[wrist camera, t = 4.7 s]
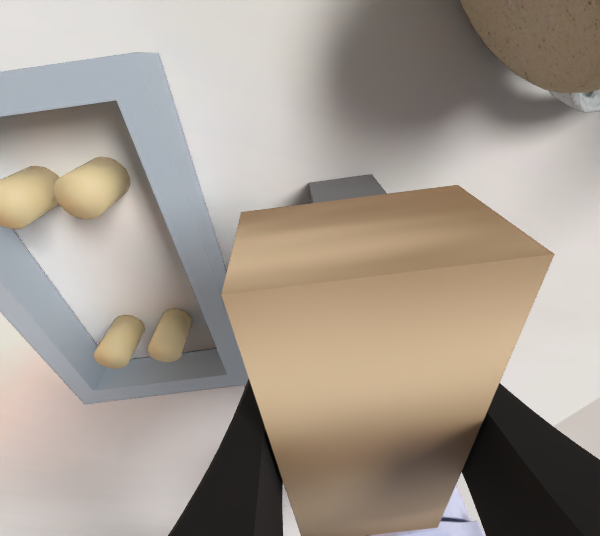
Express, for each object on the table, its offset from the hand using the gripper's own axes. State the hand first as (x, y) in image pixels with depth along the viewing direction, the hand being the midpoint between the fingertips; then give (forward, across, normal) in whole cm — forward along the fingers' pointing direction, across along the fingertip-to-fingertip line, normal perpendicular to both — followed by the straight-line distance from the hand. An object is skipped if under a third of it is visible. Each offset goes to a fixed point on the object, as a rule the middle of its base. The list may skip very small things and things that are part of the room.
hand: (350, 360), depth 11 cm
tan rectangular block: (0, 0, 0) cm, 0 cm away
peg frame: (+7, +11, -1) cm, 13 cm away
